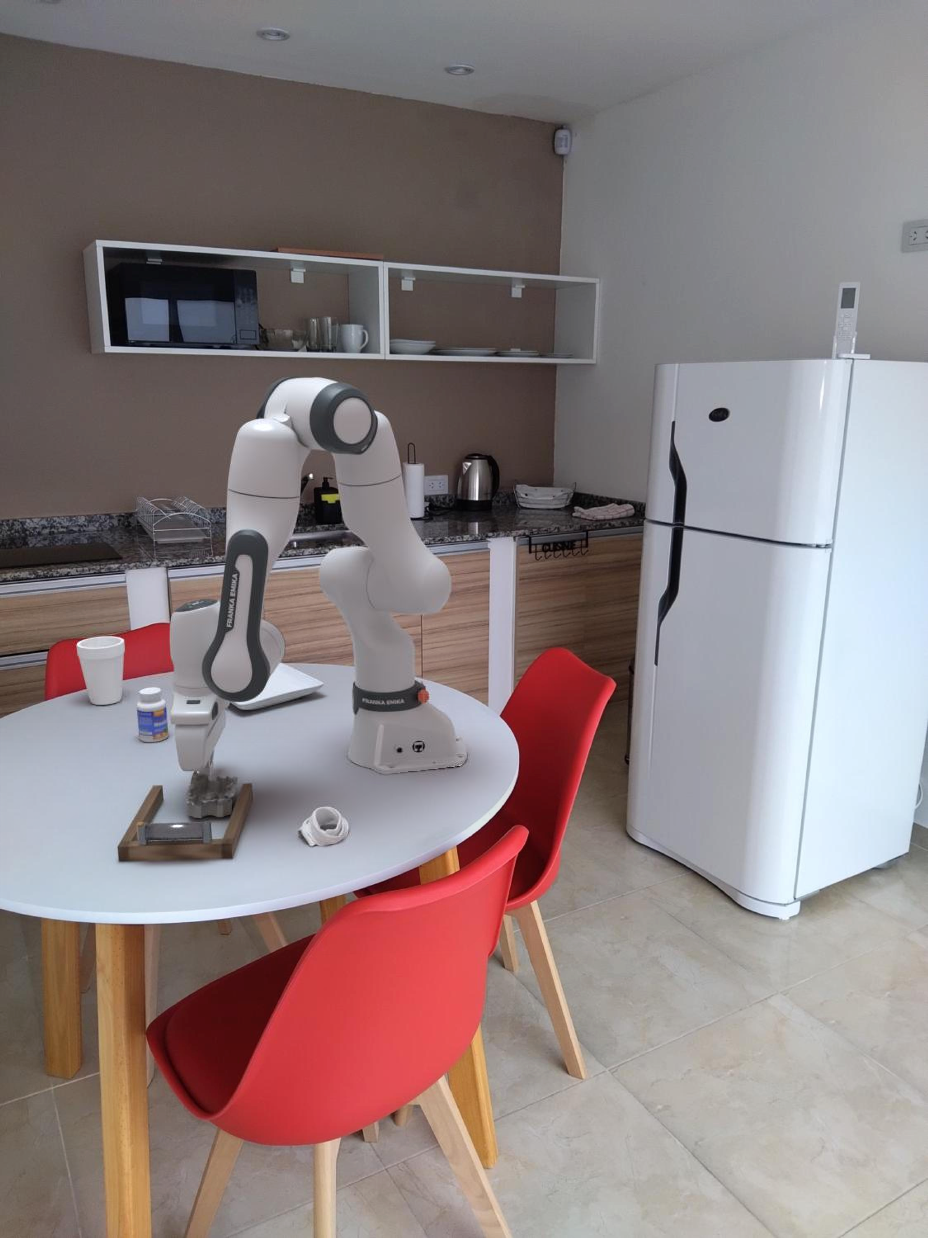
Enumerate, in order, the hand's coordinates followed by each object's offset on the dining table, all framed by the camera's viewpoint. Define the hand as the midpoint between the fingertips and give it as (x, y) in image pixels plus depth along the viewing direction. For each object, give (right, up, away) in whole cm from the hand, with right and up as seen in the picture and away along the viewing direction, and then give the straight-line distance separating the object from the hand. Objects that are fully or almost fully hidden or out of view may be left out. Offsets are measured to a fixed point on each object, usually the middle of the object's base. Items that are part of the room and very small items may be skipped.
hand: (206, 773), depth 150 cm
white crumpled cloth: (+22, -8, -14) cm, 28 cm away
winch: (+2, -6, -22) cm, 23 cm away
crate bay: (+1, -7, -13) cm, 14 cm away
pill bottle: (-17, +3, +23) cm, 29 cm away
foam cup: (-34, +8, +43) cm, 56 cm away
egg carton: (+1, -6, -7) cm, 9 cm away
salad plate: (-2, +9, +48) cm, 49 cm away
